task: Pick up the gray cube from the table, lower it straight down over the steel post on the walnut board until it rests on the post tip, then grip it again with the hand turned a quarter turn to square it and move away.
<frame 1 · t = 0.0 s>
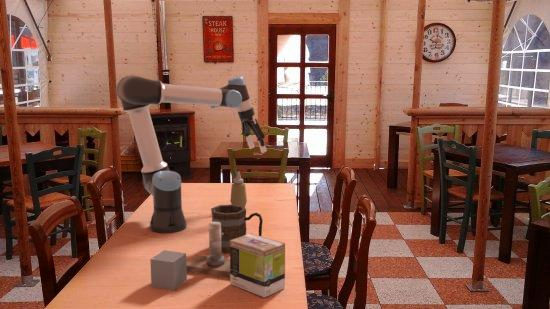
hand: (258, 150, 241), 28 cm above the table, tool tilted 20°, fingers open, 13 cm apart
post stand: (215, 268, 168), on the table
mug: (237, 248, 188), on the table
tea box: (257, 286, 155), on the table
squeeze bottle: (238, 208, 241), on the table
gray cube: (169, 283, 157), on the table
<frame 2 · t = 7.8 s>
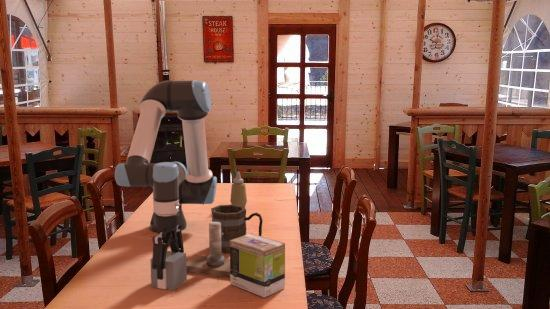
hand: (169, 282, 157), 0 cm above the table, tool pointing down, fingers closed on gray cube, 8 cm apart
gray cube: (169, 283, 157), on the table, touching gripper
everything else where it was.
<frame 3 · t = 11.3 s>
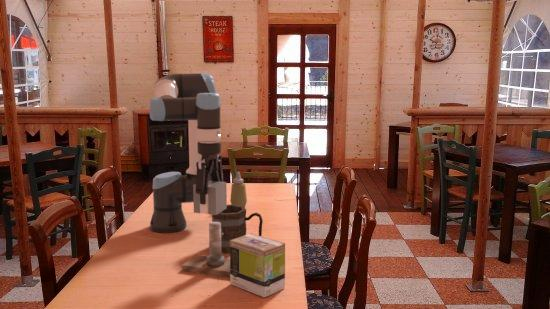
hand: (210, 209, 164), 21 cm above the table, tool pointing down, fingers closed on gray cube, 8 cm apart
gray cube: (210, 210, 164), point 21 cm above the table, touching gripper
everything else where it was.
when the fingers open (10 cm above the table, at t = 14.9 s): gray cube drops 2 cm, resting on post stand.
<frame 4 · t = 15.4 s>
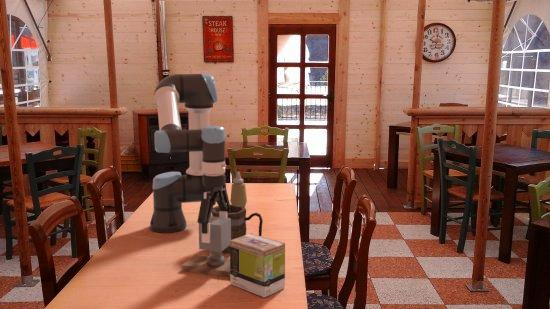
hand: (215, 235, 166), 12 cm above the table, tool pointing down, fingers open, 13 cm apart
gray cube: (215, 246, 167), point 8 cm above the table, touching post stand
everything else where it was.
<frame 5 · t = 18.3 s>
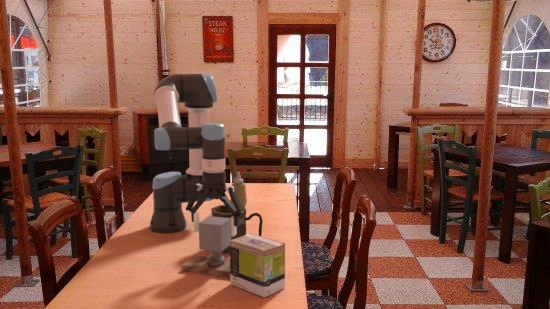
hand: (215, 233, 166), 13 cm above the table, tool pointing down, fingers open, 13 cm apart
nothing on the table moved.
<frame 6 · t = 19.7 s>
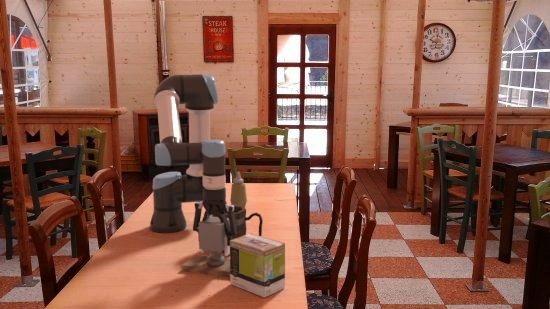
hand: (215, 252, 167), 6 cm above the table, tool pointing down, fingers closed on gray cube, 8 cm apart
gray cube: (215, 246, 167), point 8 cm above the table, touching gripper, post stand
everything else where it was.
when the fingers open (6 cm above the table, at t = 20.8 s): gray cube stays where it is, resting on post stand.
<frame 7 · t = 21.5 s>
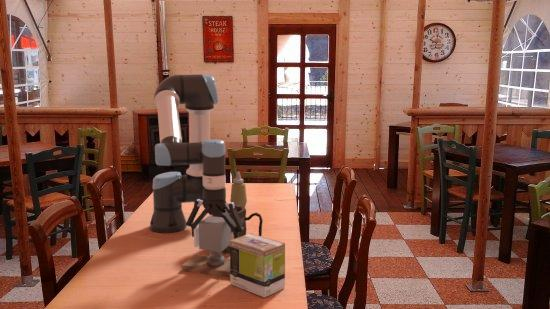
hand: (215, 248, 167), 7 cm above the table, tool pointing down, fingers open, 13 cm apart
gray cube: (215, 246, 167), point 8 cm above the table, touching post stand
everything else where it was.
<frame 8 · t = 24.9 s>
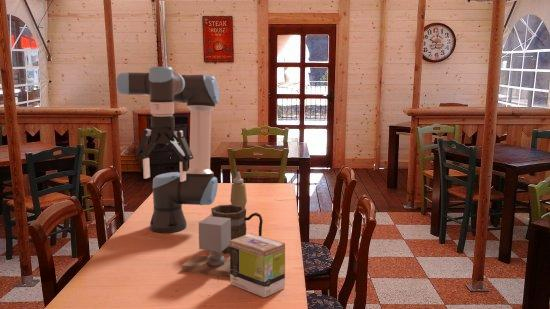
hand: (164, 179, 164), 31 cm above the table, tool pointing down, fingers open, 13 cm apart
nothing on the table moved.
at the end: gray cube 0.0 cm off-centre on the post stand, point 8.0 cm above the post stand's base; gray cube tilted 0°; the gripper is holding nothing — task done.
